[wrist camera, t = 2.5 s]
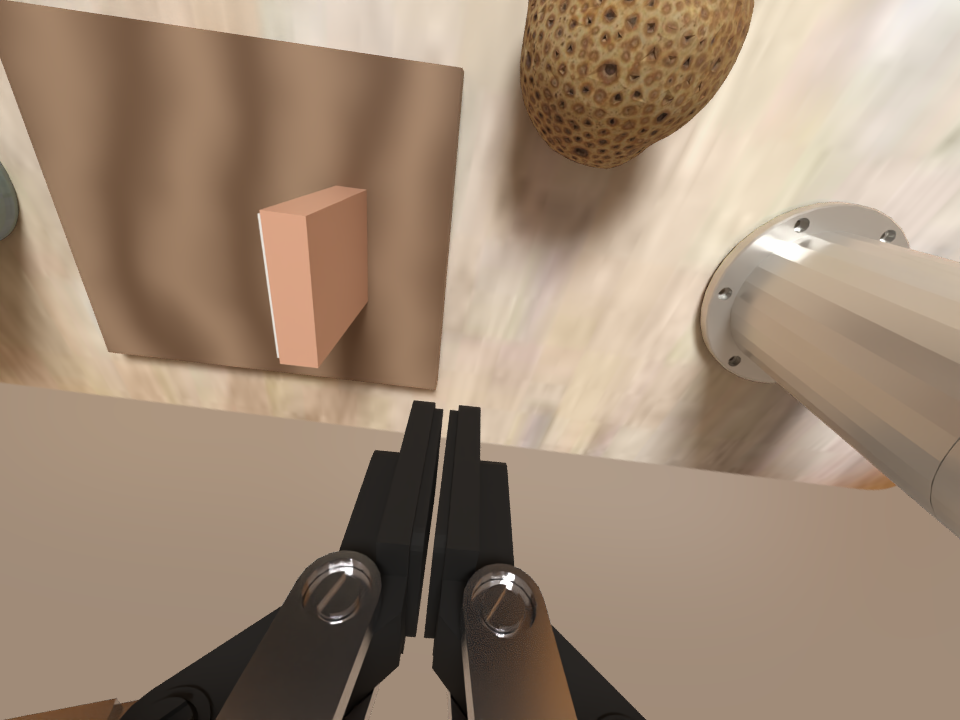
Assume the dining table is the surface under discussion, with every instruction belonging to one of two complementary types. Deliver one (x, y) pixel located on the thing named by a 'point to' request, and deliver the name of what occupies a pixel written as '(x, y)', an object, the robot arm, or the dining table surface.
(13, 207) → the grey green cup
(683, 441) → the dining table surface
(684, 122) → the natural sponge
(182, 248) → the board
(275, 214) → the tile
